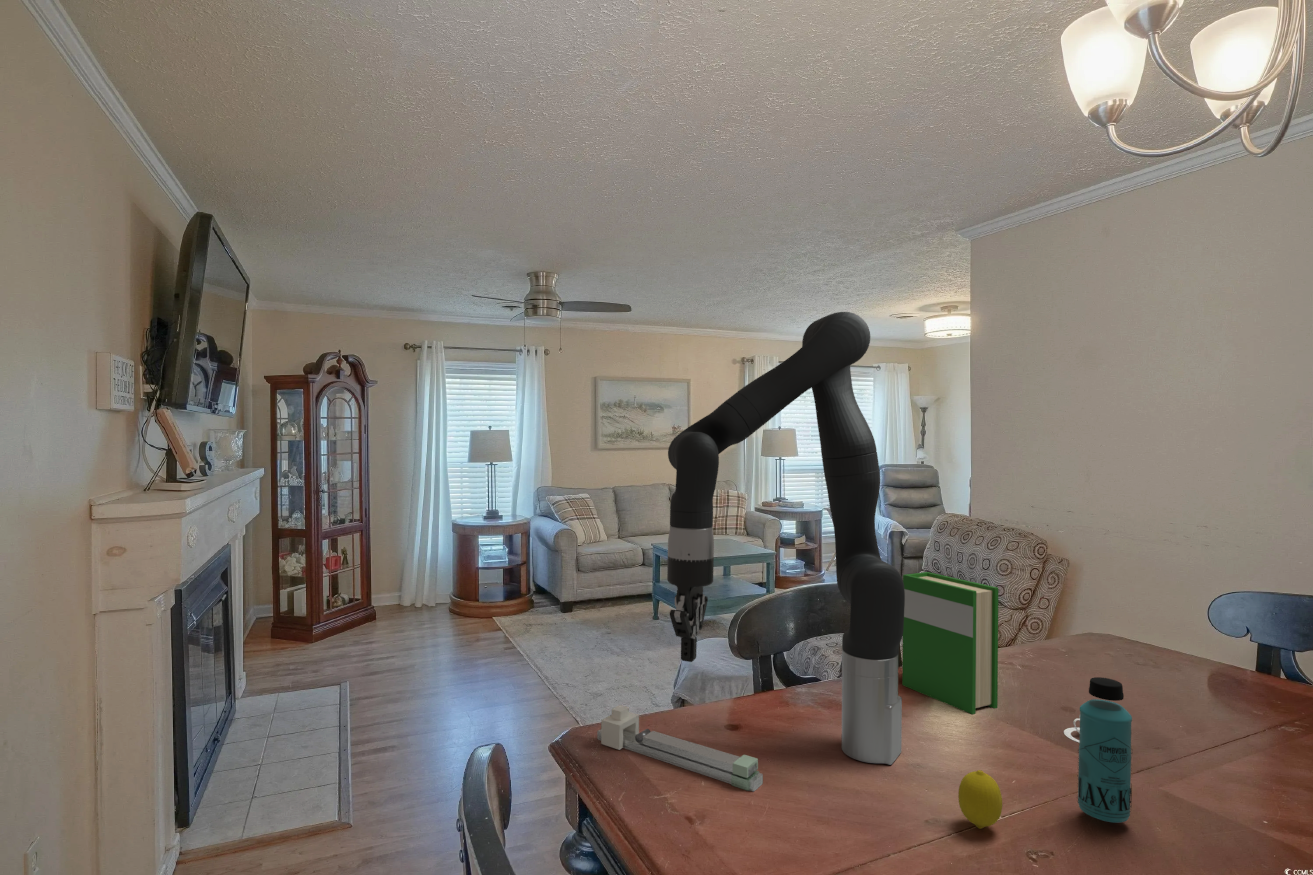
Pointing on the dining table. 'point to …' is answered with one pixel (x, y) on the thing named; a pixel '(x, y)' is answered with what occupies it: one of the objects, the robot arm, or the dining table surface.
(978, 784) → the lemon
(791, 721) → the dining table surface
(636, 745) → the base
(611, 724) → the lock slider
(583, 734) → the dining table surface
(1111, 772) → the beverage bottle
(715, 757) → the bar
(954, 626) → the hardback book
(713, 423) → the robot arm
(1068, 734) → the teacup and saucer
